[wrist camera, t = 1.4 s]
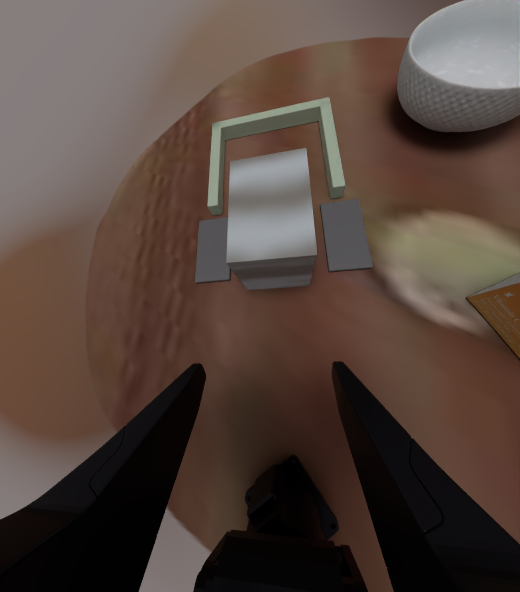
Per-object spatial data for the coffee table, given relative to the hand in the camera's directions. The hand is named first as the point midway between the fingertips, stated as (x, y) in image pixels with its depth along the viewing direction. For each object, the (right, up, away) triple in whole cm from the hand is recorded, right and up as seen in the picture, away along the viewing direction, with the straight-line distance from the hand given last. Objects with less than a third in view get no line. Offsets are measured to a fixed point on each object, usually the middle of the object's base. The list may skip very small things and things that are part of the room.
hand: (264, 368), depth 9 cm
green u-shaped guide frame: (+2, +20, +19) cm, 28 cm away
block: (+2, +10, +17) cm, 20 cm away
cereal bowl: (+27, +30, +18) cm, 44 cm away
